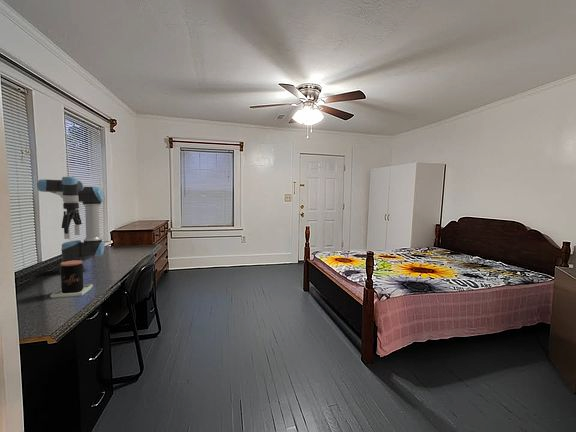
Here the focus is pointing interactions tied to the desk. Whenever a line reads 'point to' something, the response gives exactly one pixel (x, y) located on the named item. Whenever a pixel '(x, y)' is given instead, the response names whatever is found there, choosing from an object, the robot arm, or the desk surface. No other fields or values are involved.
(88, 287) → the sage tray
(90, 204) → the robot arm
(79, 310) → the desk surface
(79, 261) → the coffee jar
